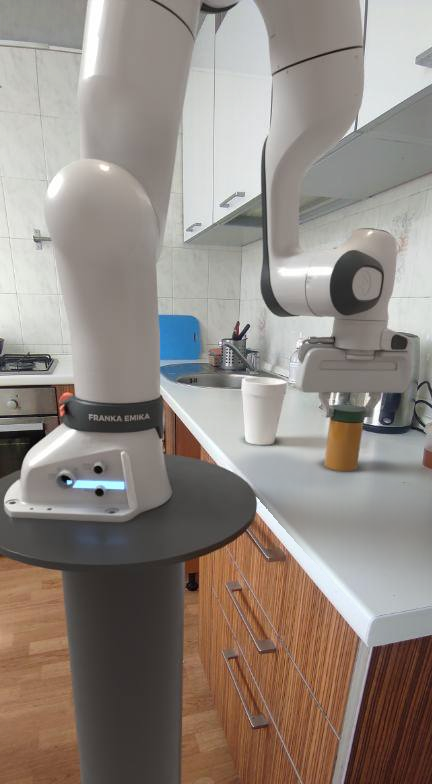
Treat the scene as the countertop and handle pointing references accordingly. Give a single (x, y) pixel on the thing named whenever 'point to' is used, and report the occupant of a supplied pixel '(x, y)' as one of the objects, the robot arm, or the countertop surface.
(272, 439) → the foam cup
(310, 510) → the countertop surface
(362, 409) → the lid
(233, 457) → the countertop surface
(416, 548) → the countertop surface
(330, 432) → the jar
